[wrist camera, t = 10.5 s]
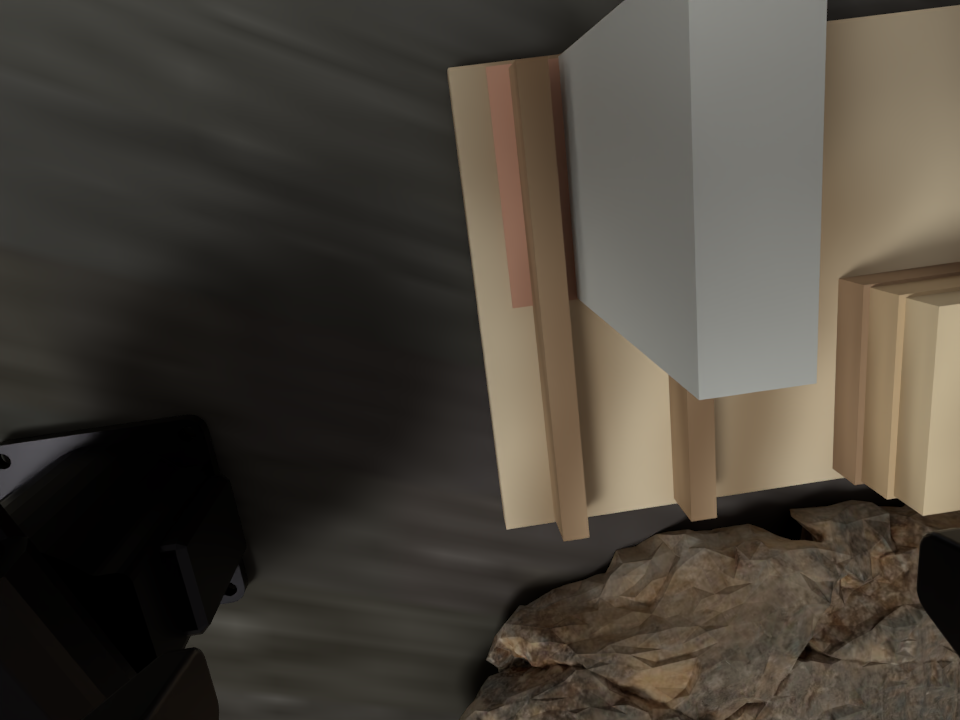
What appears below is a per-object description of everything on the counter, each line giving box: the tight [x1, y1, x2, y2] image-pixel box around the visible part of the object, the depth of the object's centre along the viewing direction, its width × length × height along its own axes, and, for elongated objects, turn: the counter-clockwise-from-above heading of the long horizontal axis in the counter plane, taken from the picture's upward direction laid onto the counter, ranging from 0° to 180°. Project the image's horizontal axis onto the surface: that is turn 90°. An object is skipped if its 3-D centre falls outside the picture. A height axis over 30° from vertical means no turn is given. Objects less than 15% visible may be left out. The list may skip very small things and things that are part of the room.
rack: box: [447, 5, 960, 541], centre depth 20 cm, size 18×14×2 cm
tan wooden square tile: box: [832, 262, 960, 485], centre depth 21 cm, size 6×6×1 cm
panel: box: [558, 0, 827, 400], centre depth 14 cm, size 2×7×9 cm, turn 7°
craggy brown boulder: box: [459, 500, 960, 720], centre depth 23 cm, size 14×5×20 cm
